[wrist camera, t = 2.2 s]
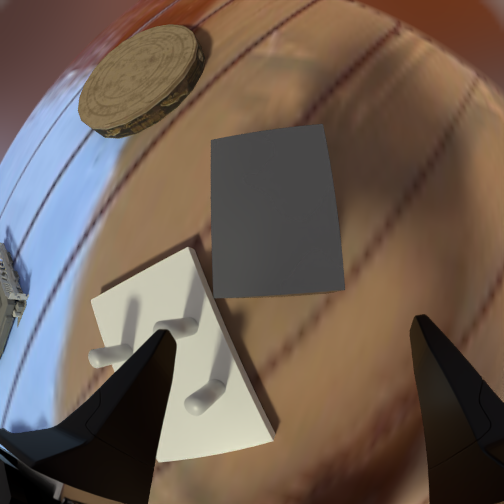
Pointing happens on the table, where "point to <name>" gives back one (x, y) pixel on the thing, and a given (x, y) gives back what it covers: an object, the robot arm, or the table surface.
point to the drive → (274, 215)
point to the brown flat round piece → (141, 81)
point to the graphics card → (9, 296)
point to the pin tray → (184, 358)
